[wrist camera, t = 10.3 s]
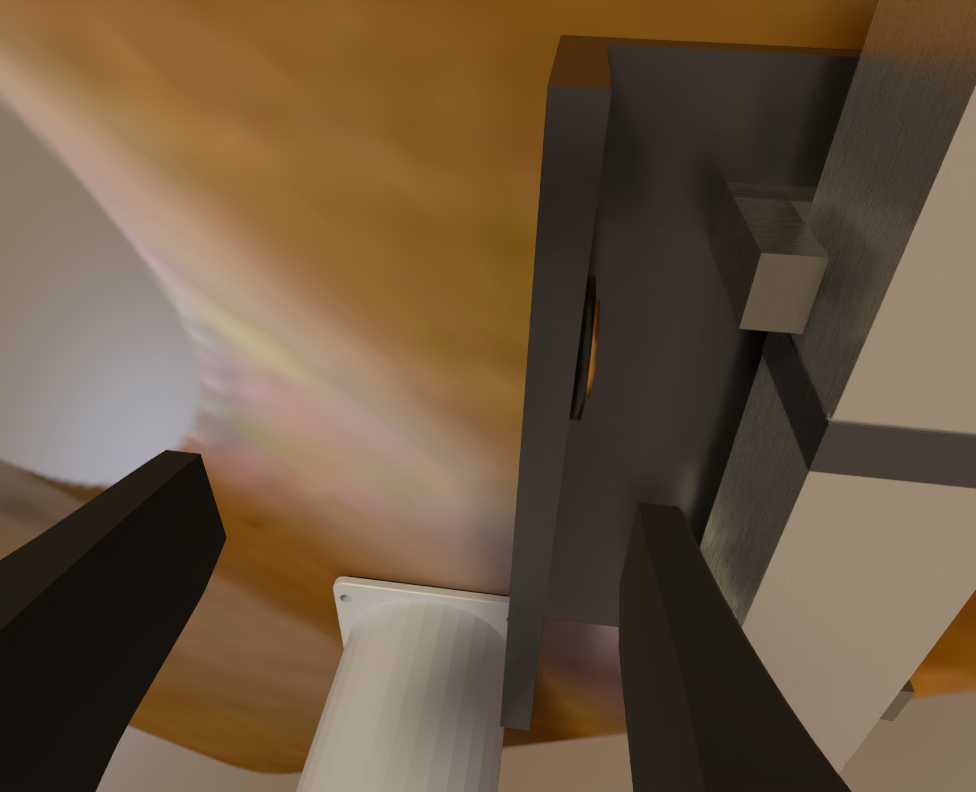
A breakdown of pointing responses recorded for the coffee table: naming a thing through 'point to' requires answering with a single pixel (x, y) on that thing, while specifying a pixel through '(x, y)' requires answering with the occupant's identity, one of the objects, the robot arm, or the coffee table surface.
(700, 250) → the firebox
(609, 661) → the coffee table surface
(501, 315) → the coffee table surface
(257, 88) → the coffee table surface
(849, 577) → the cream rectangular block
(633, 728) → the robot arm
